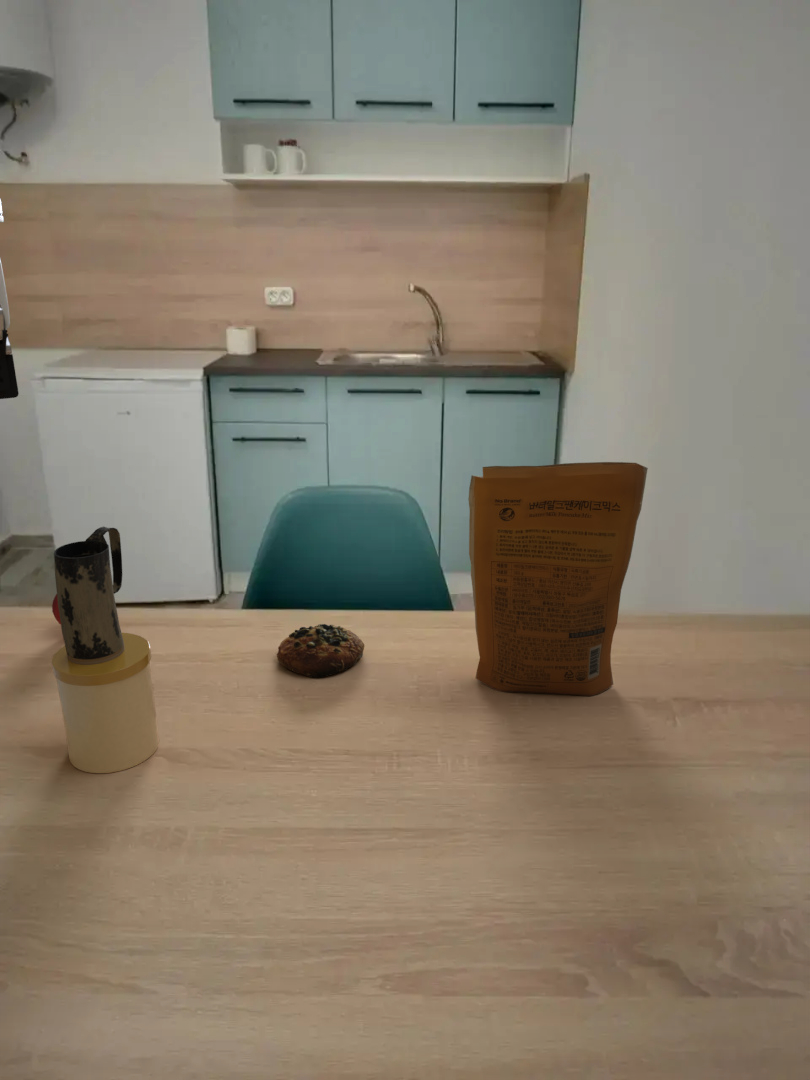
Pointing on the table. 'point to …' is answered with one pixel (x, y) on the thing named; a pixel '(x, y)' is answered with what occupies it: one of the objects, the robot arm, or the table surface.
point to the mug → (90, 597)
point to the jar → (108, 708)
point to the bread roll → (320, 650)
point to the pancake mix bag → (551, 572)
